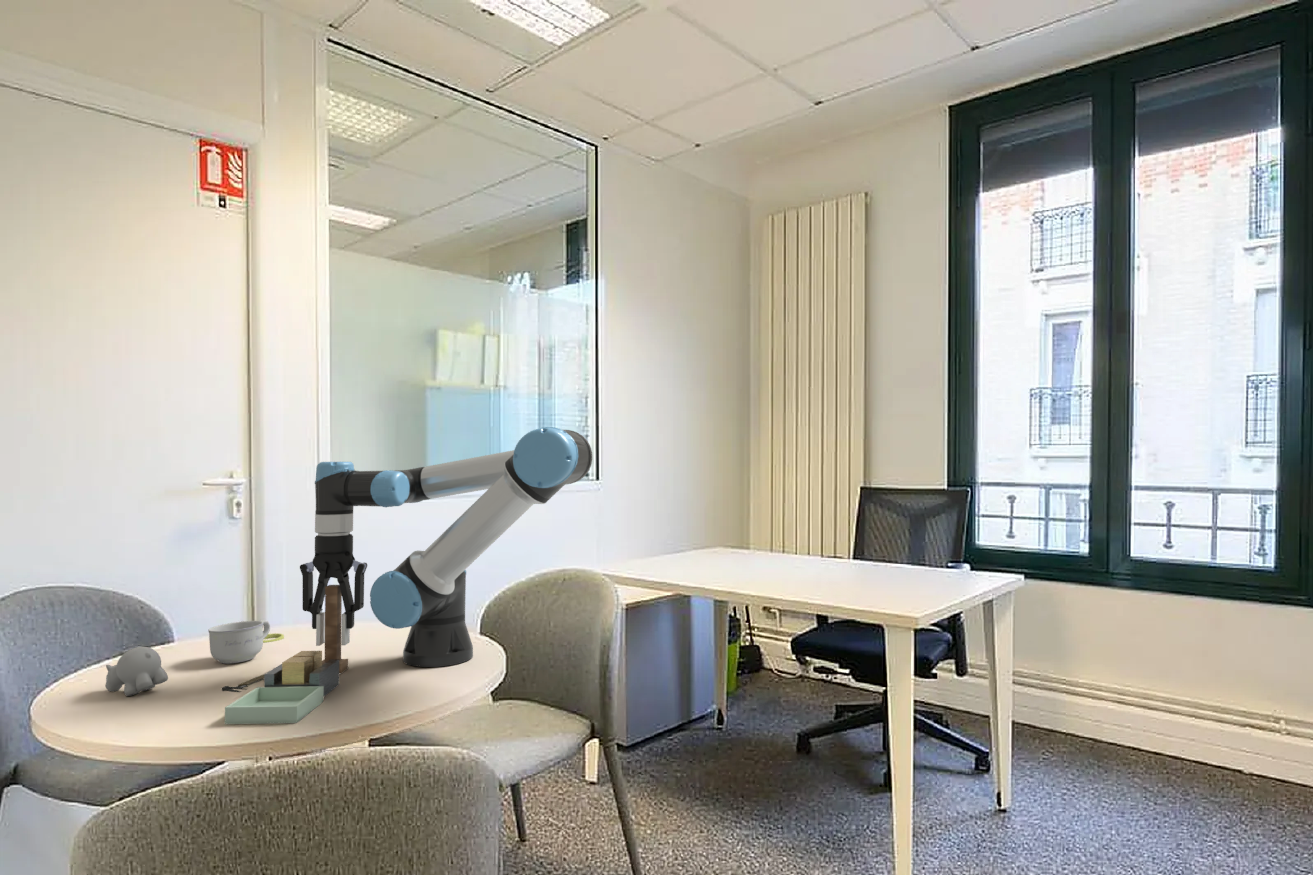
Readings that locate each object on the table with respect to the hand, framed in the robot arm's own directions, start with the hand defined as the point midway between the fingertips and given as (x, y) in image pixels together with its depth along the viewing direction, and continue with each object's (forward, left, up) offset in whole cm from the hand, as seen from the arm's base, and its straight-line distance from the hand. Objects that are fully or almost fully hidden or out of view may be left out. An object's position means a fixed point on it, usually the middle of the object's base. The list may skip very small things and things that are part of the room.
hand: (333, 643), depth 161 cm
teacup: (+24, -11, -6) cm, 27 cm away
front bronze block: (0, +18, -3) cm, 18 cm away
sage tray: (0, +26, -6) cm, 27 cm away
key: (+29, -31, -6) cm, 43 cm away
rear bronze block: (0, +13, -3) cm, 13 cm away
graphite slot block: (0, +15, -6) cm, 16 cm away
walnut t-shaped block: (0, 0, -6) cm, 6 cm away
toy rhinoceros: (+33, +13, -6) cm, 36 cm away
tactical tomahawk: (+11, +4, -6) cm, 13 cm away
